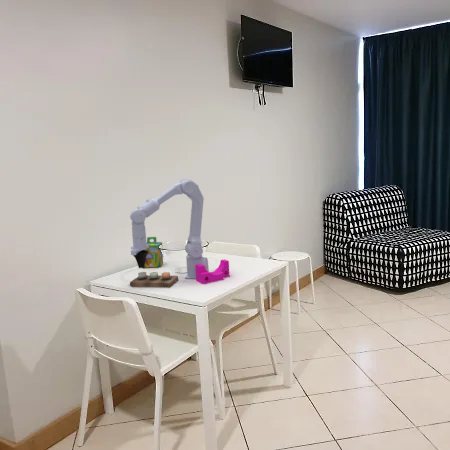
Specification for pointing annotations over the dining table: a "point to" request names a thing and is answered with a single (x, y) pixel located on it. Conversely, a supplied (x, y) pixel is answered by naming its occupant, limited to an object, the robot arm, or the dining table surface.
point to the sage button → (153, 274)
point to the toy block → (212, 273)
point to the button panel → (154, 281)
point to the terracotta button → (165, 275)
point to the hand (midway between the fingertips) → (141, 267)
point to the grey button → (142, 274)
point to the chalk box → (153, 254)
